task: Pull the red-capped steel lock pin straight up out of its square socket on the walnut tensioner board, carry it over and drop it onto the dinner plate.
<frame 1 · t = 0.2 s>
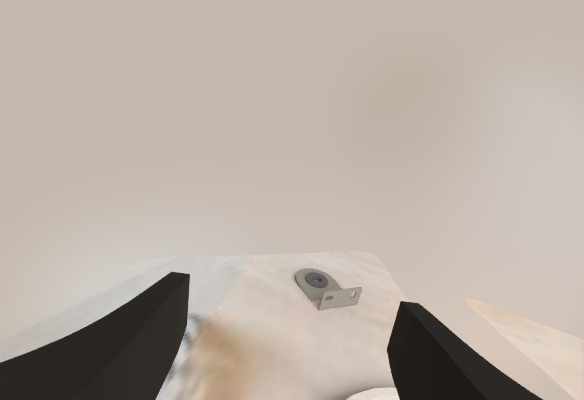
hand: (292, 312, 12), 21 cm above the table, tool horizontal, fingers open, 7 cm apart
bracket: (321, 294, 54), on the table
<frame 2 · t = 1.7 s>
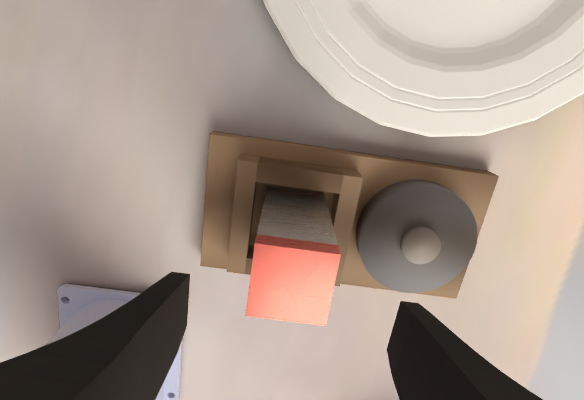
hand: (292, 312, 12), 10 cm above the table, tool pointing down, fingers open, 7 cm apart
lock pin: (291, 215, 21), point 1 cm above the table, touching tensioner board
tensioner board: (340, 216, 22), on the table
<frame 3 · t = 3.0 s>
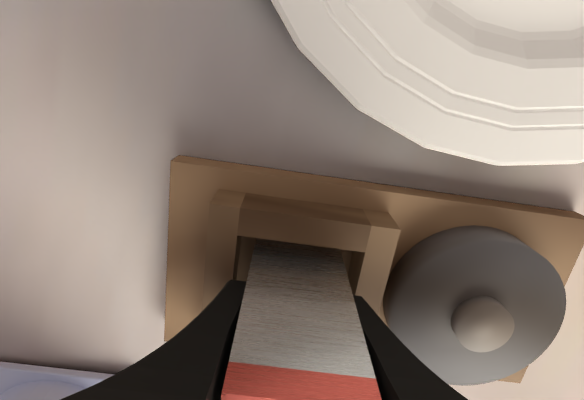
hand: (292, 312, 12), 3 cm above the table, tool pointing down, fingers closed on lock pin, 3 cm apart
lock pin: (292, 275, 14), point 1 cm above the table, touching gripper, tensioner board
tensioner board: (361, 272, 15), on the table
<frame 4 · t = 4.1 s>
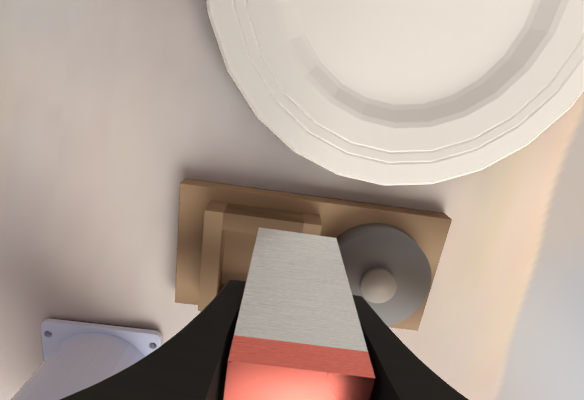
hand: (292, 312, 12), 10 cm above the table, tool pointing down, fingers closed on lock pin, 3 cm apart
lock pin: (292, 267, 15), point 7 cm above the table, touching gripper
tensioner board: (307, 255, 23), on the table
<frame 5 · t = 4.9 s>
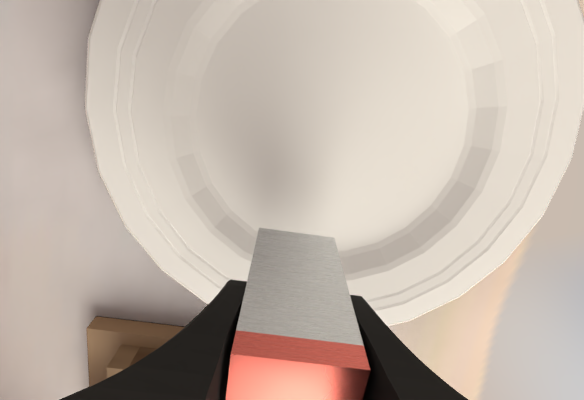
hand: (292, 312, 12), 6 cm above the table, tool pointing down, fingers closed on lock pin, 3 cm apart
lock pin: (291, 266, 16), point 3 cm above the table, touching gripper
tensioner board: (233, 387, 21), on the table
plate: (329, 127, 17), on the table
when the fingers open (6 cm above the table, at t = 5.3 s): lock pin stays where it is, resting on plate.
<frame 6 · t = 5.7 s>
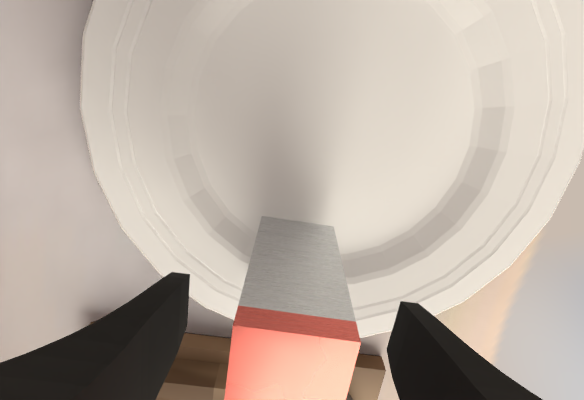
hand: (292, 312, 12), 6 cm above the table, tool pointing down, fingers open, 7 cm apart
lock pin: (292, 253, 16), point 1 cm above the table, touching plate
tensioner board: (232, 394, 21), on the table
plate: (331, 127, 16), on the table, touching lock pin
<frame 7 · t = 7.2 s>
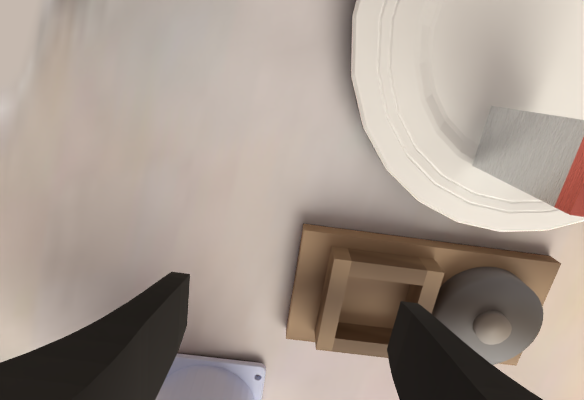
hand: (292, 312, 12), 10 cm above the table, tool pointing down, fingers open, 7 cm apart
lock pin: (510, 140, 19), point 1 cm above the table, touching plate
tensioner board: (412, 293, 24), on the table
plate: (536, 42, 19), on the table, touching lock pin
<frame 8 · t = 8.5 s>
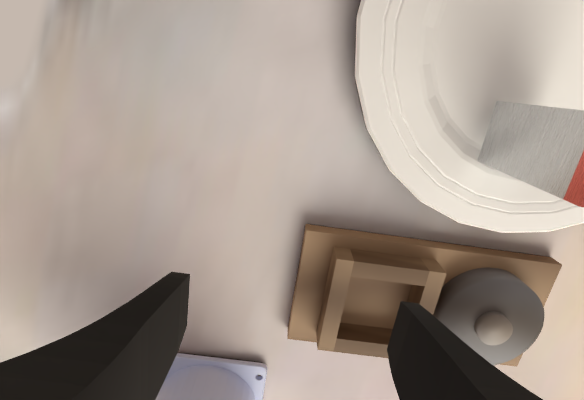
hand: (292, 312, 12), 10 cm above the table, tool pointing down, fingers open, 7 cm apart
lock pin: (515, 136, 19), point 1 cm above the table, touching plate
tensioner board: (414, 294, 24), on the table
plate: (539, 44, 19), on the table, touching lock pin
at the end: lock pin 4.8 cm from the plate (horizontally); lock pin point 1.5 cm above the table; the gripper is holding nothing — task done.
